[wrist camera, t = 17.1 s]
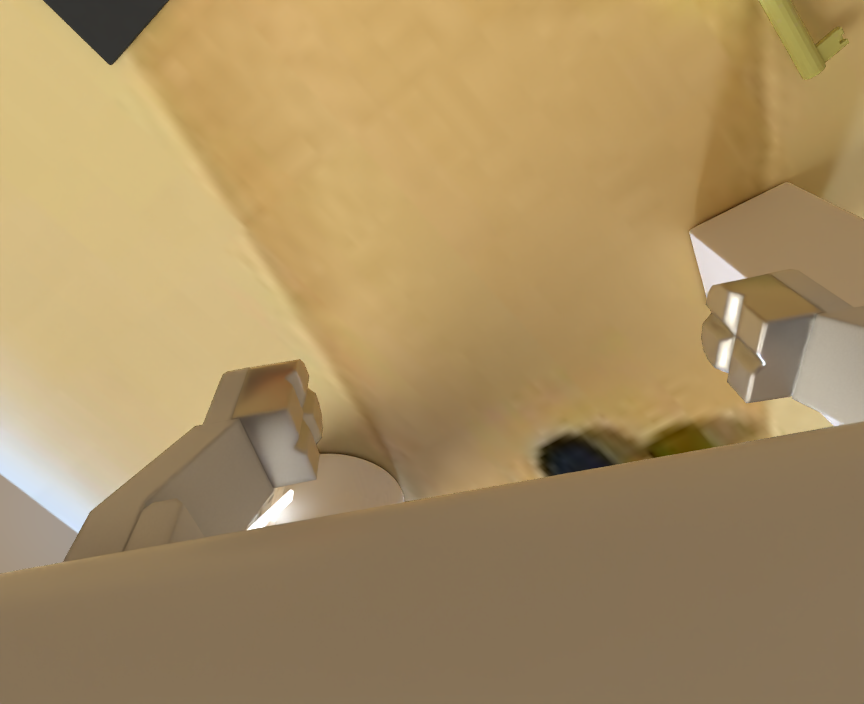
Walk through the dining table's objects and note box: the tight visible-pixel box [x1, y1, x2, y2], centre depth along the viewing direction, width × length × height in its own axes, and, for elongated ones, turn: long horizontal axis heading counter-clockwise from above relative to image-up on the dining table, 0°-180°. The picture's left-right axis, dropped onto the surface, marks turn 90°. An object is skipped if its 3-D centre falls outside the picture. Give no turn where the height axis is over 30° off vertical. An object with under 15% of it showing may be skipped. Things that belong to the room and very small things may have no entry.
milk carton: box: [689, 182, 864, 426], centre depth 32 cm, size 7×7×19 cm
